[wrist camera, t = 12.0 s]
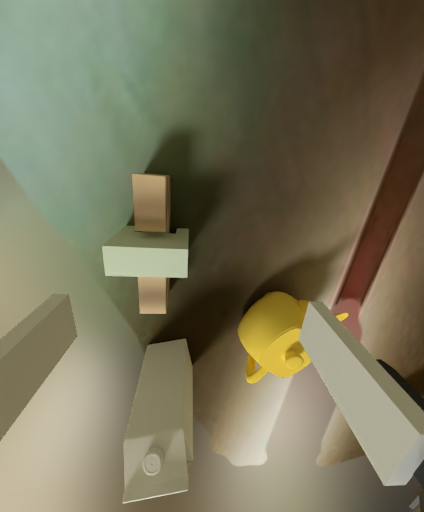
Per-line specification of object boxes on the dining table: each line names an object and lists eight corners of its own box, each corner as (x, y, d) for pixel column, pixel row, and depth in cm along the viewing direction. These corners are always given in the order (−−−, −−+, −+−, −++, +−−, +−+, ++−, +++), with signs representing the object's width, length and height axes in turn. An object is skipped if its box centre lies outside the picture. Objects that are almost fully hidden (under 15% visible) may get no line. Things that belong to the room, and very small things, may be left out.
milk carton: (192, 365, 42) (193, 505, 24) (156, 371, 42) (131, 518, 24) (186, 337, 39) (181, 472, 22) (147, 344, 39) (111, 486, 22)
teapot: (288, 258, 35) (326, 293, 25) (327, 294, 39) (374, 337, 29) (216, 329, 39) (224, 382, 29) (257, 355, 43) (277, 412, 33)
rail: (143, 173, 28) (132, 173, 23) (170, 175, 29) (165, 176, 23) (148, 290, 35) (139, 313, 29) (169, 291, 35) (165, 313, 30)
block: (126, 225, 31) (101, 245, 22) (189, 228, 32) (188, 249, 23) (127, 248, 32) (105, 275, 24) (188, 250, 33) (187, 277, 25)
